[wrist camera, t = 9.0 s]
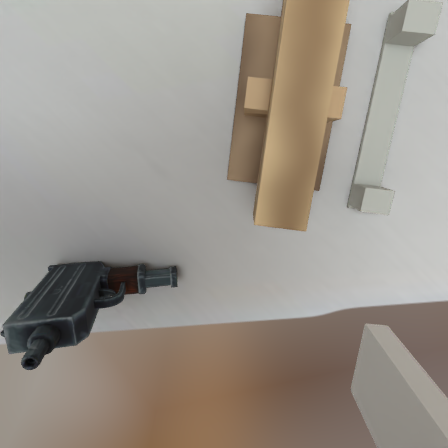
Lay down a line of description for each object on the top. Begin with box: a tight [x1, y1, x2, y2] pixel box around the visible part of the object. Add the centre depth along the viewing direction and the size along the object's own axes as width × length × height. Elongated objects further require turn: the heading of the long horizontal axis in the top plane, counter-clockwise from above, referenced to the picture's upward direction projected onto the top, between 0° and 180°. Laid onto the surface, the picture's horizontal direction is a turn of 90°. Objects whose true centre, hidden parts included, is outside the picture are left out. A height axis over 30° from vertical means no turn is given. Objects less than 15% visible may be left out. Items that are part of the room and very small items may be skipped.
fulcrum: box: [227, 13, 351, 191], centre depth 29 cm, size 10×16×8 cm, turn 173°
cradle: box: [347, 0, 443, 215], centre depth 30 cm, size 3×19×4 cm, turn 173°
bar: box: [253, 0, 349, 231], centre depth 23 cm, size 4×20×4 cm, turn 173°
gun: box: [1, 261, 177, 370], centre depth 31 cm, size 3×17×15 cm
